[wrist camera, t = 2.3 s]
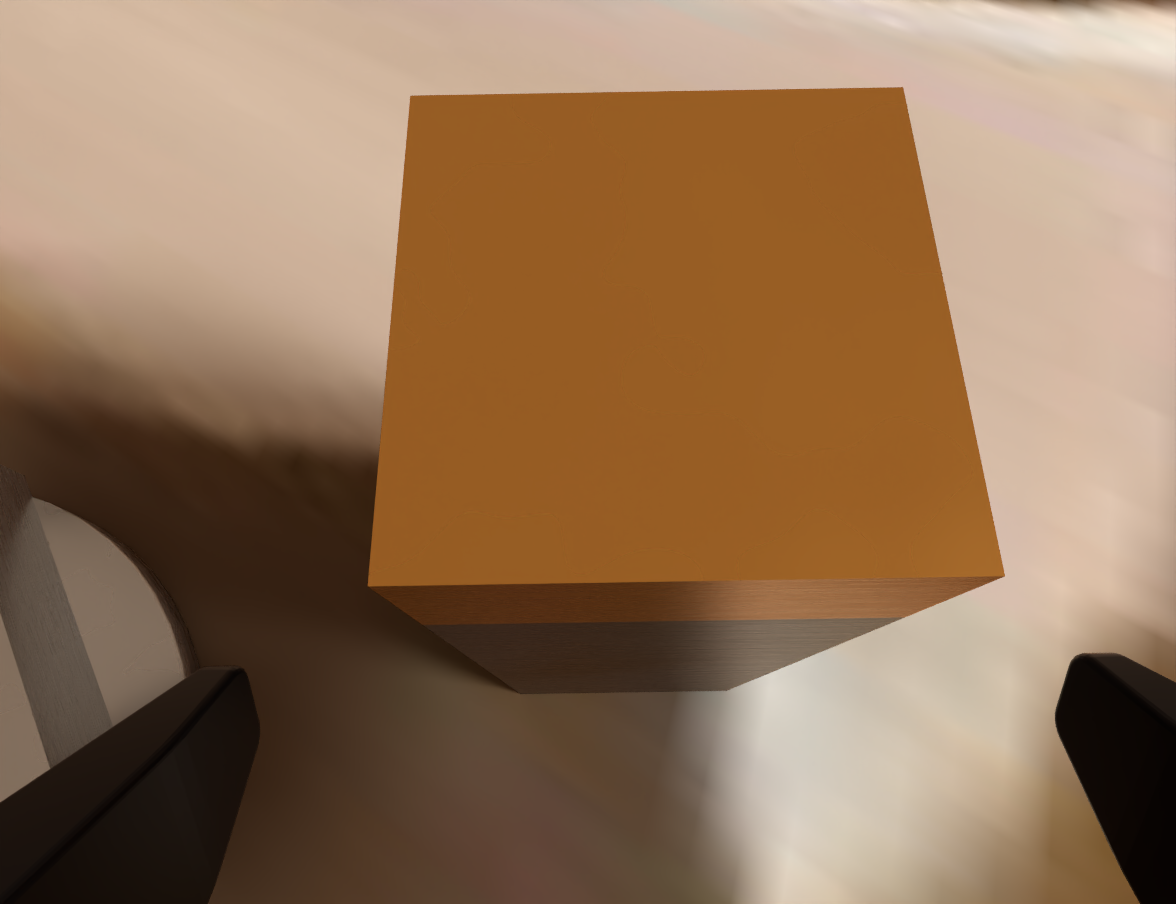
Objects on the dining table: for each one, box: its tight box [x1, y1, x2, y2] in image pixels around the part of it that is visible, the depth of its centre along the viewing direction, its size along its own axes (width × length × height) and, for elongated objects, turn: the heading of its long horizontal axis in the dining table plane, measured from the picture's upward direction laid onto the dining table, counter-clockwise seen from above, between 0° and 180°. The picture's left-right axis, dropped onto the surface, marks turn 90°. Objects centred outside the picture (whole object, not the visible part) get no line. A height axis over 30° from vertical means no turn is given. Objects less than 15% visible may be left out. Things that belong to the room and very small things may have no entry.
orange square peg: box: [368, 87, 1005, 694], centre depth 13 cm, size 5×5×13 cm
